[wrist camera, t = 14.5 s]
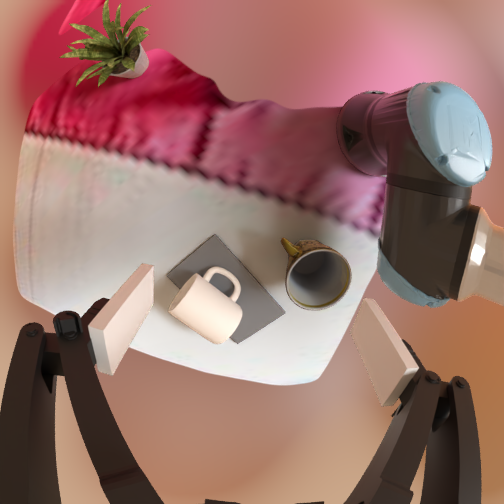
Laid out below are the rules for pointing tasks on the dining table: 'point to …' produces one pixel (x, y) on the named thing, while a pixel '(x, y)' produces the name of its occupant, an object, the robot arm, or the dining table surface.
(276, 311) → the mat
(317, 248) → the ceramic cup
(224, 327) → the cup
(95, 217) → the dining table surface
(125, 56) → the house plant
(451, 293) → the robot arm
